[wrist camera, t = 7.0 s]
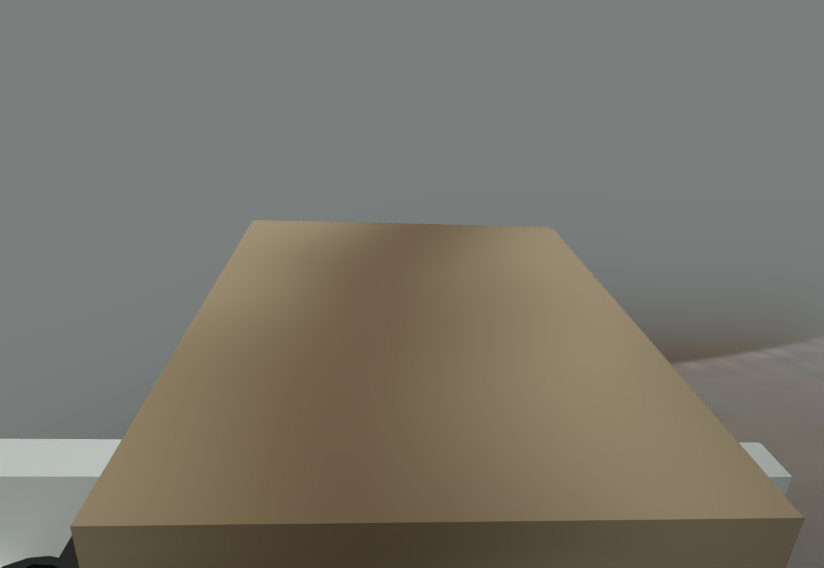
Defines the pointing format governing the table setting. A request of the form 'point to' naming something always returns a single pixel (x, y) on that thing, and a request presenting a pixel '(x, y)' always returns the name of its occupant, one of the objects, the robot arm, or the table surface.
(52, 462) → the bay
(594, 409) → the tan cardboard box
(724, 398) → the table surface
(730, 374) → the table surface
